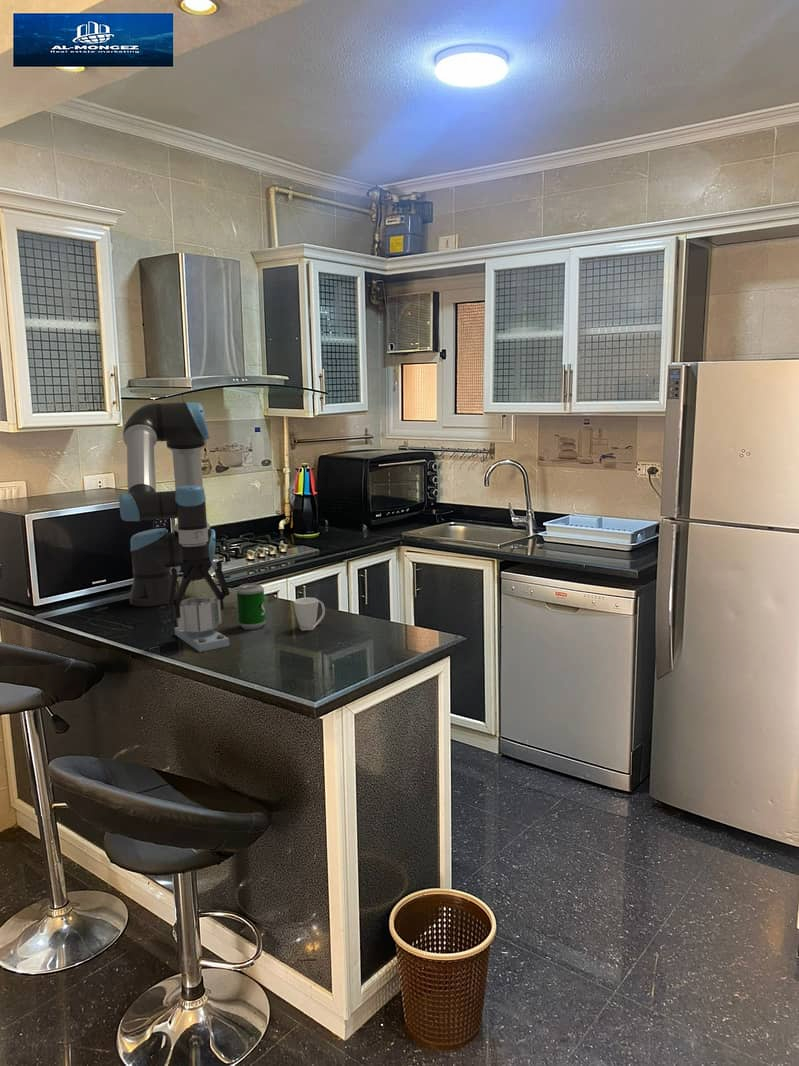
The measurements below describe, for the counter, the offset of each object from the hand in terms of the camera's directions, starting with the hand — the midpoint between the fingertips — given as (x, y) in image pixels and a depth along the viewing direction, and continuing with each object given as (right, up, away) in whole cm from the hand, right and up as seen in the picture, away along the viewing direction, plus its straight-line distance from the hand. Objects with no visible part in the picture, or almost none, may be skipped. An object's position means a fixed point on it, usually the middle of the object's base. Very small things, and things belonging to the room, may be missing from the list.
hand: (200, 625), depth 212 cm
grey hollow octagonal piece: (0, 0, 0) cm, 0 cm away
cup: (+29, -2, +10) cm, 30 cm away
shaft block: (0, -4, +1) cm, 4 cm away
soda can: (+12, -2, +12) cm, 17 cm away
